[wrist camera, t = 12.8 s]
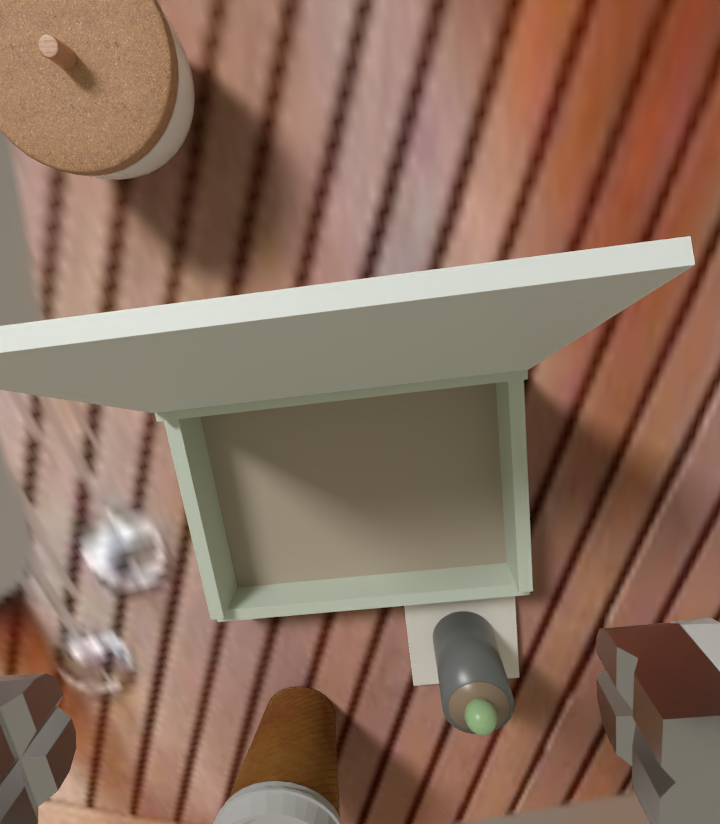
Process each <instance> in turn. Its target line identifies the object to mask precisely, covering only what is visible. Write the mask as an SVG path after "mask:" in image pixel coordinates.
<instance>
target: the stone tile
mask: <svg viewBox="0 0 720 824" xmlns="http://www.w3.org/2000/svg"><path fill="white" fill-rule="evenodd" d="M404 610H405V618H406V626H407V634H408V643H409V651H410V659H411V668H412V676H413V684H414V686H415V685H428V684H439V679H438V672H437V665H436V659H435V652H434V645H433V631H434V628H435V626H436V625H437V623H438V622H439V621H440V620H441V619H442V618H443V617H445V616H447V615H448V614H451V613H454V612H459V611H469V612H473V613H476V614H478V615H480V616H482V617H483V618H485V619H486V620H487V621H488V623H489V624H490V626H491V628H492V631H493V634H494V637H495V641H496V644H497V647H498V650H499V653H500V657H501V660H502V663H503V666H504V669H505V672H506V676H507V678H519V662H518V644H517V625H516V607H515V596H510V597H499V598H487V599H476V600H464V601H453V602H441V603H430V604H419V605H407V606H404Z"/></svg>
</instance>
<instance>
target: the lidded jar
mask: <svg viewBox="0 0 720 824" xmlns="http://www.w3.org/2000/svg"><path fill="white" fill-rule="evenodd" d="M194 104H195V93H194V82H193V76H192V71H191V68H190V65H189V62H188V59H187V55H186V52H185V49H184V47H183V45H182V43H181V41H180V39H179V37H178V35H177V33H176V31H175V29H174V27H173V25H172V24H171V22H170V21H169V19H168V18H167V16H166V15H165V13H164V12H163V10H162V9H161V7H160V6H159V4H158V3H157V1H156V0H0V130H1V132H2V133H3V134H4V135H5V136H6V137H7V138H8V139H9V140H10V141H11V142H12V143H13V144H14V145H15V146H16V147H18V148H19V149H20V150H21V151H23V152H24V153H25V154H26V155H28V156H30V157H31V158H33V159H35V160H36V161H38V162H40V163H42V164H44V165H47V166H49V167H52V168H54V169H57V170H60V171H63V172H68V173H72V174H77V175H85V176H90V177H94V178H99V179H117V180H121V179H129V178H135V177H140V176H143V175H146V174H149V173H151V172H153V171H155V170H157V169H159V168H161V167H162V166H163V165H164V164H166V163H167V162H168V161H170V159H171V158H172V157H173V156H174V155H175V154H176V153H177V152H178V151H179V149H180V148H181V146H182V144H183V143H184V141H185V139H186V137H187V135H188V132H189V130H190V126H191V123H192V119H193V113H194Z"/></svg>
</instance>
